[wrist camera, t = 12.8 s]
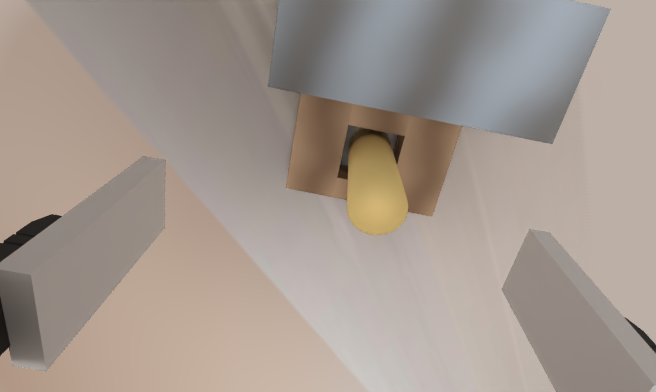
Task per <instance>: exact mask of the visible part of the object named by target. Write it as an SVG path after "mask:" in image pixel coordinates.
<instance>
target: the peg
mask: <svg viewBox="0 0 656 392" xmlns="http://www.w3.org/2000/svg"><path fill="white" fill-rule="evenodd" d="M407 212H408V201H407V198H406V194H405V191H404V187H403V184H402V181H401V177H400V174H399V170H398V167H397V164H396V160H395V157H394V153H393V150H392V147H391V143H390V140H389V137H388V135H387V134H386V133H385V132H381V131H376V130H371V129H366V128H360V129H358V130H357V131H356V132H355V133H354V134H353V135H352V137H351V139H350V142H349V160H348V190H347V213H348V217H349V219H350V221H351V222H352V224H353V225H354V226H355V227H356V228H357V229H359V230H360V231H362V232H364V233H367V234H372V235H382V234H387V233H390V232H392V231H394V230H395V229H397V228H398V227H399V226H400V225H401V224H402V223H403V221H404V220H405V218H406V216H407Z"/></svg>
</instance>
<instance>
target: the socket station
mask: <svg viewBox="0 0 656 392" xmlns="http://www.w3.org/2000/svg"><path fill="white" fill-rule="evenodd" d="M610 10H611V9H609V8H604V7H599V6H595V5H590V4H585V3H580V2H576V1H571V0H279V4H278V12H277V20H276V28H275V36H274V44H273V52H272V60H271V68H270V76H269V84H268V87H272V88H277V89H282V90H287V91H292V92H297V93H301V95H300V101H299V108H298V114H297V120H296V127H295V133H294V139H293V145H292V152H291V158H290V164H289V171H288V177H287V183H286V188H289V189H294V190H299V191H304V192H309V193H314V194H319V195H325V196H330V197H335V198H340V199H345V200H347V190H348V167H347V166H342V165H340V162H341V158H342V153H343V148H344V144H345V139H346V134H347V130H348V125H351V126H356V127H361V128H366V129H371V130H376V131H381V132H386V133H391V134H396V135H398V138H397V142H396V145H395V149H394V157H395V160H396V164H397V167H398V170H399V174H400V177H401V181H402V184H403V187H404V191H405V194H406V198H407V201H408V212H411V213H417V214H422V215H427V216H432V215H433V212H434V209H435V206H436V203H437V200H438V197H439V194H440V191H441V188H442V185H443V182H444V179H445V176H446V173H447V170H448V167H449V164H450V161H451V158H452V155H453V152H454V149H455V146H456V143H457V140H458V137H459V134H460V131H461V128H462V126H465V127H470V128H475V129H480V130H485V131H490V132H495V133H500V134H505V135H510V136H515V137H520V138H525V139H530V140H535V141H540V142H545V143H550V144H552V143H553V141H554V139H555V137H556V134H557V132H558V130H559V127H560V125H561V123H562V120H563V118H564V116H565V113H566V111H567V109H568V107H569V104H570V102H571V100H572V97H573V95H574V93H575V90H576V88H577V86H578V83H579V81H580V79H581V77H582V74H583V72H584V70H585V67H586V65H587V63H588V60H589V58H590V56H591V53H592V51H593V49H594V47H595V44H596V42H597V40H598V37H599V35H600V33H601V30H602V28H603V26H604V23H605V21H606V19H607V16H608V14H609V12H610Z"/></svg>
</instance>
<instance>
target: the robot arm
mask: <svg viewBox="0 0 656 392" xmlns="http://www.w3.org/2000/svg"><path fill="white" fill-rule="evenodd" d="M165 164H166V160H162V159H156V158H151V157H146V156H143V157H142V158H141V159H139V160H138V161H136V162H135V163H134V164H132V165H131V166H130V167H128V168H127V169H125V170H124V171H123V172H121V173H120V174H119V175H117V176H116V177H115V178H113V179H112V180H111V181H109V182H108V183H107V184H105V185H104V186H103V187H101V188H100V189H98V190H97V191H96V192H94V193H93V194H92V195H90V196H89V197H88V198H86V199H85V200H84V201H82V202H81V203H80V204H78V205H77V206H76V207H74V208H73V209H71V210H70V211H69V212H67V213H66V214H65V215H63V216H59V215H53V214H52V215H49V216H46V217H43V218H41V219H38V220H35V221H32V222H31V223H29V224H28V225H26V226H25V227H23V228H22V229H20V230H19V231H18V232H16V235H15V234H13V235H12V236H10V237H9V238H7V239H6V240H4V243H0V355H1V354H2V353H3V352H4V351H5V350H6V349H7V348H8V347H9V350H10V355H11V360H12V365H13V366H18V367H24V368H29V369H36V370H42V371H47V370H48V369H49V367H50V366H51V365H52V364H53V363H54V361H55V360H56V359H57V358H58V357H59V355H60V354H61V353H62V352H63V350H64V349H65V348H66V347H67V346H68V344H69V343H70V342H71V341H72V340H73V338H74V337H75V336H76V335H77V334H78V332H79V331H80V330H81V329H82V327H83V326H84V325H85V324H86V323H87V321H88V320H89V319H90V318H91V317H92V315H93V314H94V313H95V312H96V310H97V309H98V308H99V307H100V306H101V304H102V303H103V302H104V301H105V300H106V298H107V297H108V296H109V295H110V293H111V292H112V291H113V290H114V289H115V287H116V286H117V285H118V284H119V283H120V281H121V280H122V279H123V278H124V276H125V275H126V274H127V273H128V272H129V270H130V269H131V268H132V267H133V266H134V264H135V263H136V262H137V261H138V259H139V258H140V257H141V256H142V255H143V253H144V252H145V251H146V250H147V249H148V247H149V246H150V245H151V244H152V243H153V241H154V240H155V239H156V238H157V236H158V235H159V234H160V233H161V232H162V230H163V229H164V228H165ZM502 291H503V293H504V295H505V297H506V299H507V301H508V302H509V304H510V306H511V308H512V310H513V312H514V314H515V316H516V317H517V319H518V321H519V323H520V325H521V327H522V329H523V331H524V332H525V334H526V336H527V338H528V340H529V342H530V344H531V346H532V347H533V349H534V351H535V353H536V355H537V357H538V359H539V361H540V363H541V364H542V366H543V368H544V370H545V372H546V374H547V376H548V378H549V379H550V381H551V383H552V385H553V387H554V389H555V391H556V392H656V345H655V343H654V342H653V341H652V340H651V339H650V338H649V337H648V336H647V335H646V334H645V332H644V331H642V330H641V329H640V328H638V327H637V326H636V325H635V324H633V323H632V322H631V321H629V320H628V319H627V318H625V317H623V316H622V314H620V312H619V311H618V310H617V309H616V308H615V306H613V304H612V303H611V302H610V301H609V300H608V298H607V297H606V296H605V295H604V294H603V293H602V292H601V290H600V289H599V288H598V287H597V286H596V285H595V284H594V282H593V281H592V280H591V279H590V278H589V277H588V276H587V275H586V273H585V272H584V271H583V270H582V269H581V268H580V267H579V265H578V264H577V263H576V262H575V261H574V260H573V259H572V257H571V256H570V255H569V254H568V253H567V252H566V251H565V249H564V248H563V247H562V246H561V245H560V244H559V243H558V241H557V240H556V239H555V238H554V237H553V236H552V235H551V233H548V232H543V231H538V230H532V229H529V231H528V233H527V235H526V238H525V240H524V242H523V244H522V246H521V248H520V251H519V253H518V255H517V257H516V259H515V261H514V264H513V266H512V268H511V270H510V272H509V274H508V277H507V279H506V281H505V283H504V285H503V287H502Z"/></svg>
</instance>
